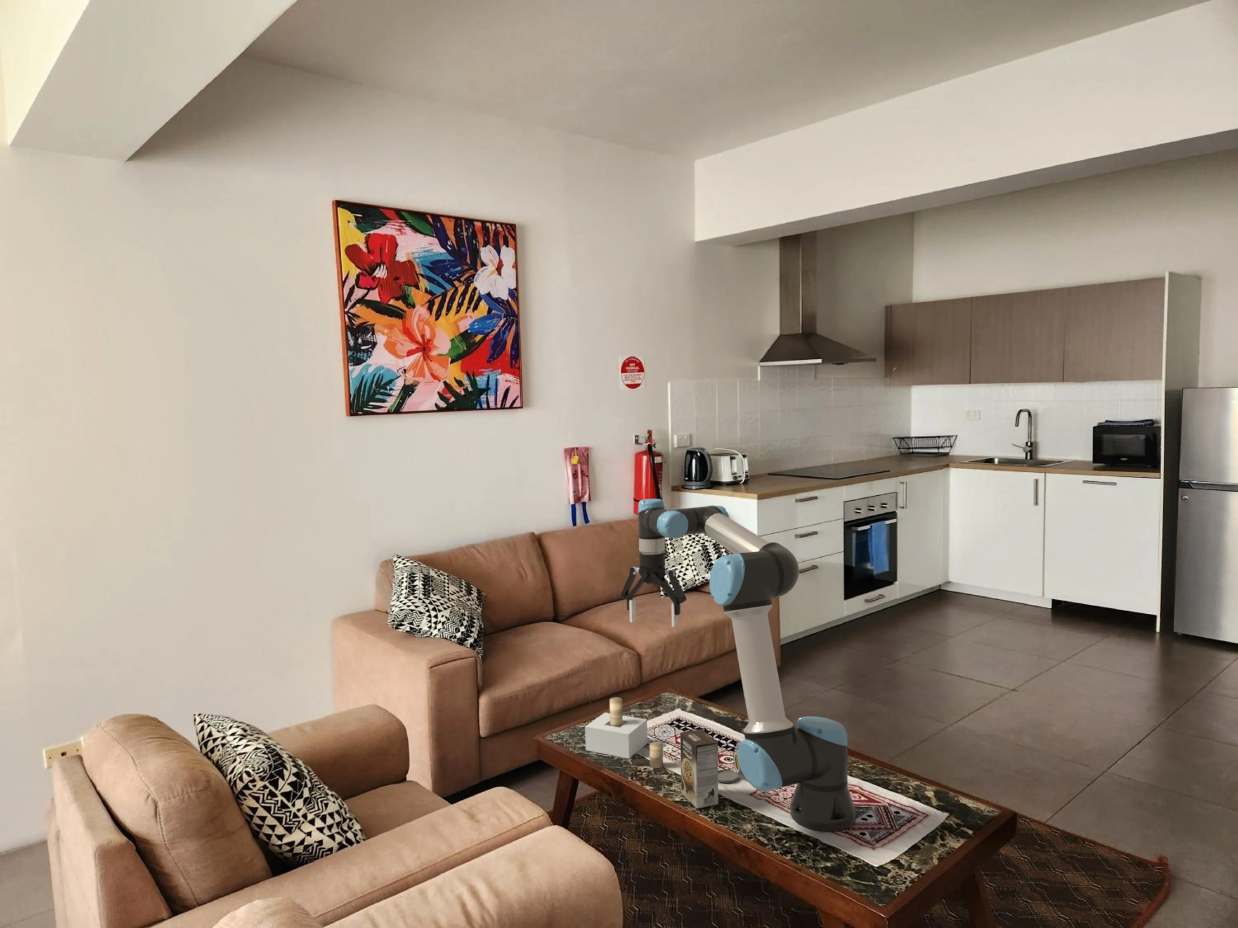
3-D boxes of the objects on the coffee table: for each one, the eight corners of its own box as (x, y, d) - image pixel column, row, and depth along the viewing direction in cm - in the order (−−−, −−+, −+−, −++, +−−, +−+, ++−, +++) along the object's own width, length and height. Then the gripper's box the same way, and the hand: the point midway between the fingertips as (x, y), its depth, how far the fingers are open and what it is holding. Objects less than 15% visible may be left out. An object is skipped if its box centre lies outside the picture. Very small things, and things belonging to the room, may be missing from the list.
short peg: (659, 769, 230) (659, 747, 229) (647, 766, 231) (647, 745, 231) (665, 764, 233) (664, 743, 232) (653, 761, 235) (653, 740, 234)
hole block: (629, 758, 237) (628, 734, 237) (585, 749, 244) (585, 726, 243) (647, 742, 248) (647, 719, 247) (605, 734, 254) (604, 712, 254)
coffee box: (680, 793, 215) (678, 731, 214) (702, 788, 218) (701, 727, 217) (696, 809, 207) (695, 745, 206) (719, 804, 209) (718, 740, 208)
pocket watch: (707, 778, 224) (707, 741, 223) (728, 768, 229) (728, 732, 228) (731, 788, 217) (730, 750, 217) (752, 778, 223) (751, 741, 222)
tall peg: (619, 749, 243) (618, 702, 242) (608, 747, 245) (607, 700, 244) (625, 745, 246) (624, 698, 245) (614, 742, 248) (613, 696, 247)
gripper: (696, 552, 244) (697, 624, 246) (620, 547, 256) (621, 616, 257) (686, 556, 238) (687, 630, 239) (608, 551, 249) (610, 622, 251)
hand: (653, 623), depth 248 cm, fingers open, 13 cm apart
